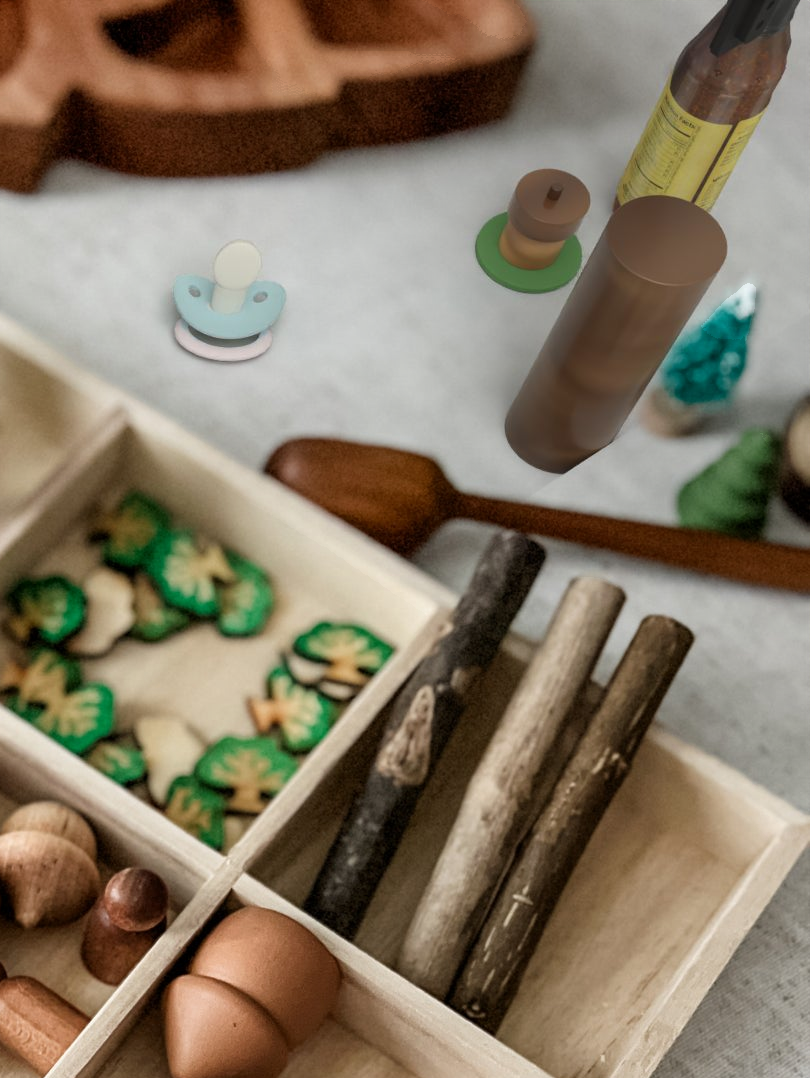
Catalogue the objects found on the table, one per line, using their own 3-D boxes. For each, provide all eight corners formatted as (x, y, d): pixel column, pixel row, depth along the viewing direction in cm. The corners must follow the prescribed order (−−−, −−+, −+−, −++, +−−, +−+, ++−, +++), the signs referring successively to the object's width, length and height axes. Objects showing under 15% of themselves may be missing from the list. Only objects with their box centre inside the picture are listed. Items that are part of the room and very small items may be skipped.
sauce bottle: (686, 180, 116) (842, -97, 98) (709, 249, 114) (873, -21, 96) (592, 185, 116) (730, -91, 98) (613, 255, 114) (759, -15, 96)
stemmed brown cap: (579, 254, 114) (611, 192, 109) (527, 286, 113) (557, 225, 108) (529, 210, 115) (558, 147, 110) (477, 242, 114) (504, 179, 109)
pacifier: (275, 372, 111) (279, 299, 113) (298, 303, 105) (301, 228, 107) (163, 361, 111) (169, 289, 113) (180, 293, 105) (185, 218, 107)
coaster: (602, 262, 114) (604, 257, 113) (526, 309, 112) (528, 305, 112) (528, 198, 116) (530, 194, 116) (453, 244, 114) (455, 239, 114)
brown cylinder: (630, 441, 108) (753, 249, 93) (555, 491, 107) (668, 303, 92) (557, 375, 110) (666, 176, 95) (483, 423, 109) (581, 229, 94)
